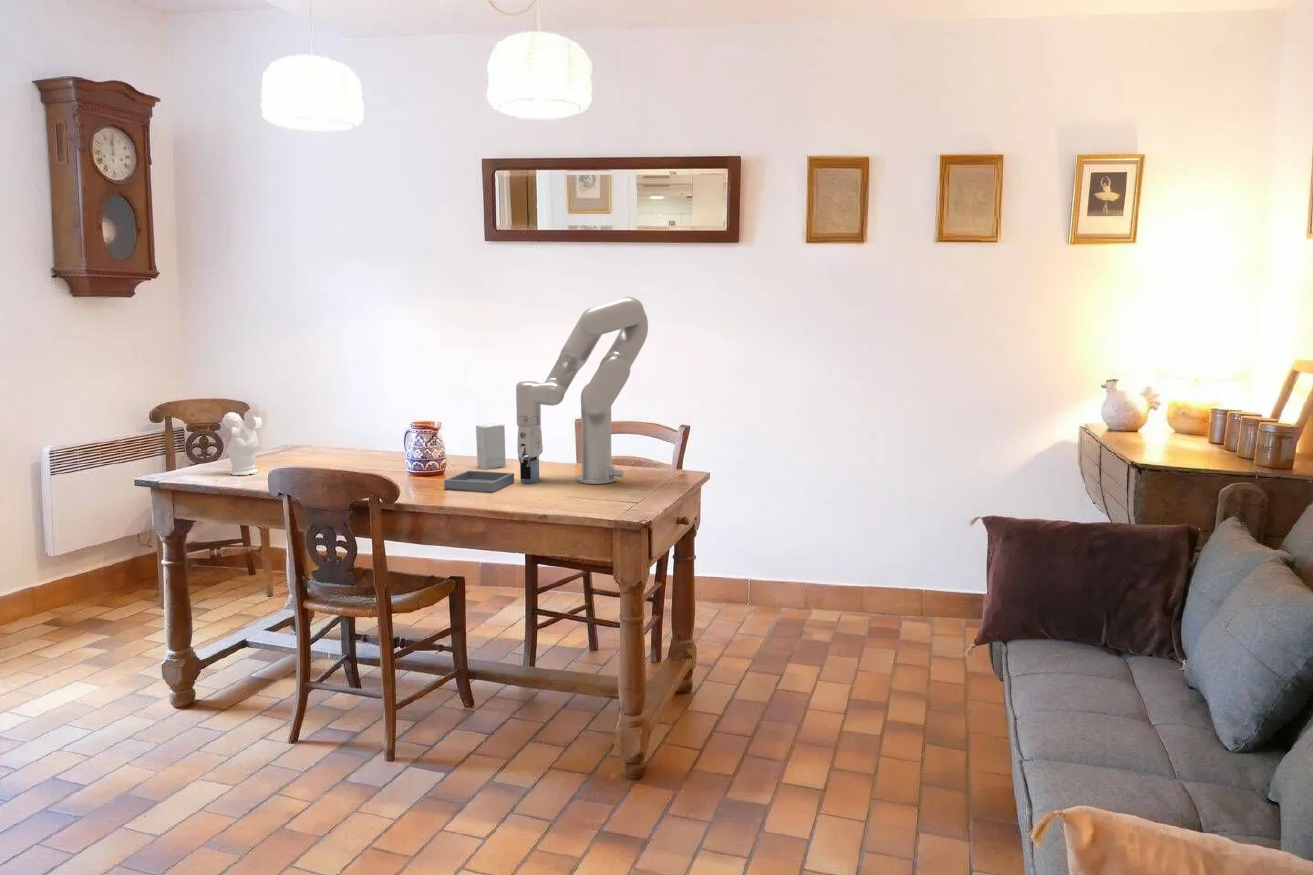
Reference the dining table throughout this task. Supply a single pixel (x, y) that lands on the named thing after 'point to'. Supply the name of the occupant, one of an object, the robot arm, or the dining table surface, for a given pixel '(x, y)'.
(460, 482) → the tray
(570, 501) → the dining table surface
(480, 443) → the skincare box
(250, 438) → the cherub figurine
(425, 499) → the dining table surface
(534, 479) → the cup
